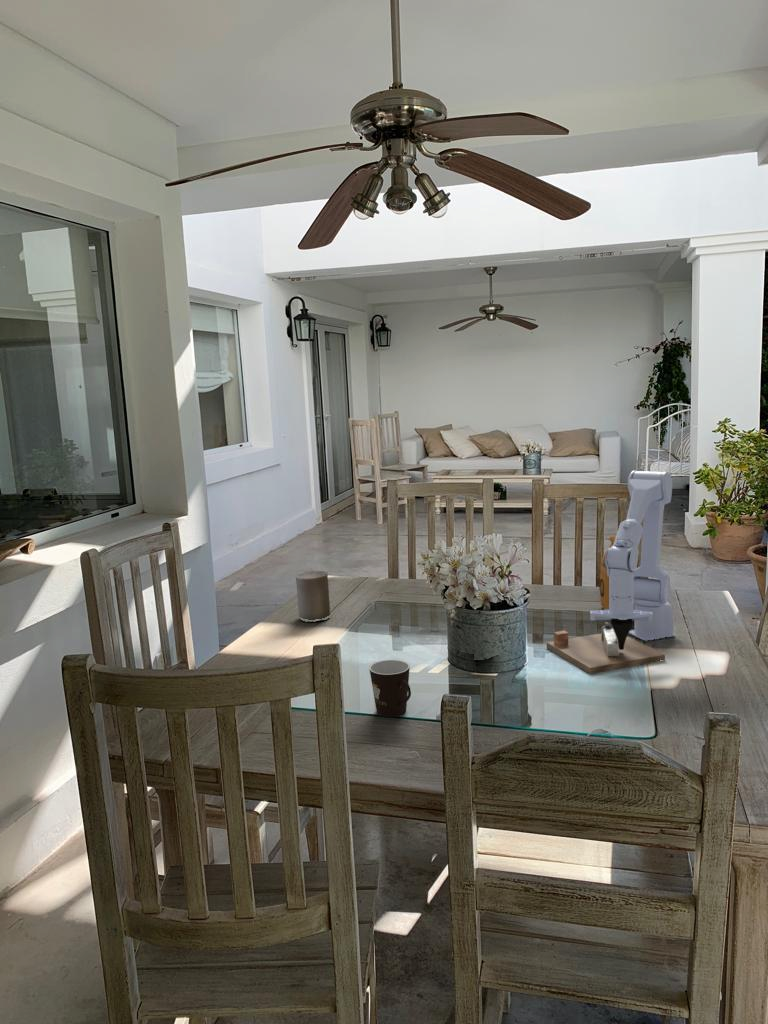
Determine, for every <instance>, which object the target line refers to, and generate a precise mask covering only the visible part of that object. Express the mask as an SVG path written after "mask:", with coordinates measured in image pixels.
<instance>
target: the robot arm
mask: <svg viewBox="0 0 768 1024" xmlns="http://www.w3.org/2000/svg"><path fill="white" fill-rule="evenodd" d="M627 490H628V491H629V492H628V494H629V496H630V502H629V506H628V510H627V515H626V519H625V520H623V521H621V522H620V523H619V526H618V529H617V532H616V535H615V536H616V538H615V541H614V544H613V546H612V547H611V548H609V547H608V548H607V549H608V550H607V549H606V551H607V552H606V551H605V553H606V556H605V565H606V568H607V576H609V610H604V609H600V610H590V612H589V617H590V621H592V622H593V621H596V620H597V621H610V623H611V626H612V627H613V629H614V631H615V633H616V636H617V639H618V645H619V649H620V650H624V644H625V640H626V638H627V636H628V635H632V636H634V637H636V638H638V639H640V640H642V641H645V642H649V641H653V640H654V639H655V640H660V638H661V639H665V637H667V638H672V637H675V636H676V634H675V633H674V610H673V606H672V605H671V603H670V602H669V600H670V598H671V592H672V591H671V590H672V588H671V587H672V586H671V576H670V574H669V573H667V571H666V570H664V569H663V568H662V567H661V552H662V550H661V549H662V540H663V539H662V536H663V524H664V522H663V521H664V511H665V505H668V504H669V503H671V501H672V496H673V495H672V494H673V478H672V475H671V473H670V472H669V471H645V470H644V471H643V470H641V471H640V470H632V471H631V472H630V473H629V475H628V478H627ZM642 522H643V523H642ZM641 524H642V525H643V526H642V525H641ZM641 540H642V541H641ZM640 542H641V552H640V550H639V546H640ZM639 552H640V553H641V554H640V553H639ZM639 554H640V565H639V566H638V564H639V563H638V562H639ZM637 566H638V567H637ZM634 603H635V610H634ZM633 621H634V629H632V627H633ZM648 640H649V641H648ZM655 640H654V641H655Z"/></svg>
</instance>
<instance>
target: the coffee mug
mask: <svg viewBox="0 0 768 1024" xmlns="http://www.w3.org/2000/svg"><path fill="white" fill-rule="evenodd" d="M410 667H411V666H410V664H409V663H408V662H407V661H403V660H399V659H385V660H380V661H379V660H378V661H375V662H374V663H372V664H371V665H370V666H369V667H368V669H369V674H370V680H371V686H372V692H373V697H374V704H375V711H376V714H377V715H378V716H380V717H383V718H389V719H391V718H398V717H401V716H403V715H405V714H406V712H407V707H408V706H407V705H408V704H407V703H408V701H409V700H410V698H411V695H412V691H411V687H410V684H409V680H410V679H409V678H410V670H411V669H410Z"/></svg>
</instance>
